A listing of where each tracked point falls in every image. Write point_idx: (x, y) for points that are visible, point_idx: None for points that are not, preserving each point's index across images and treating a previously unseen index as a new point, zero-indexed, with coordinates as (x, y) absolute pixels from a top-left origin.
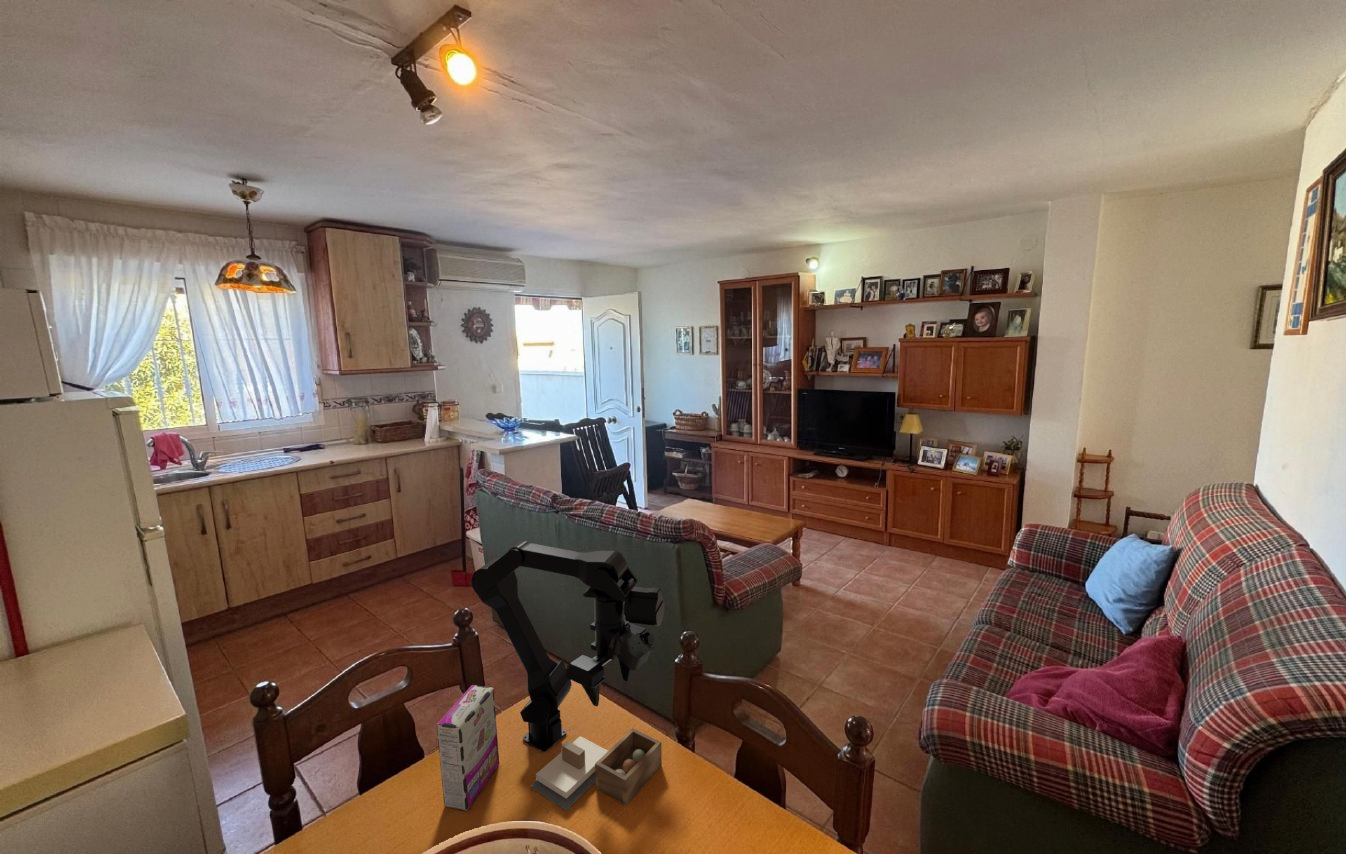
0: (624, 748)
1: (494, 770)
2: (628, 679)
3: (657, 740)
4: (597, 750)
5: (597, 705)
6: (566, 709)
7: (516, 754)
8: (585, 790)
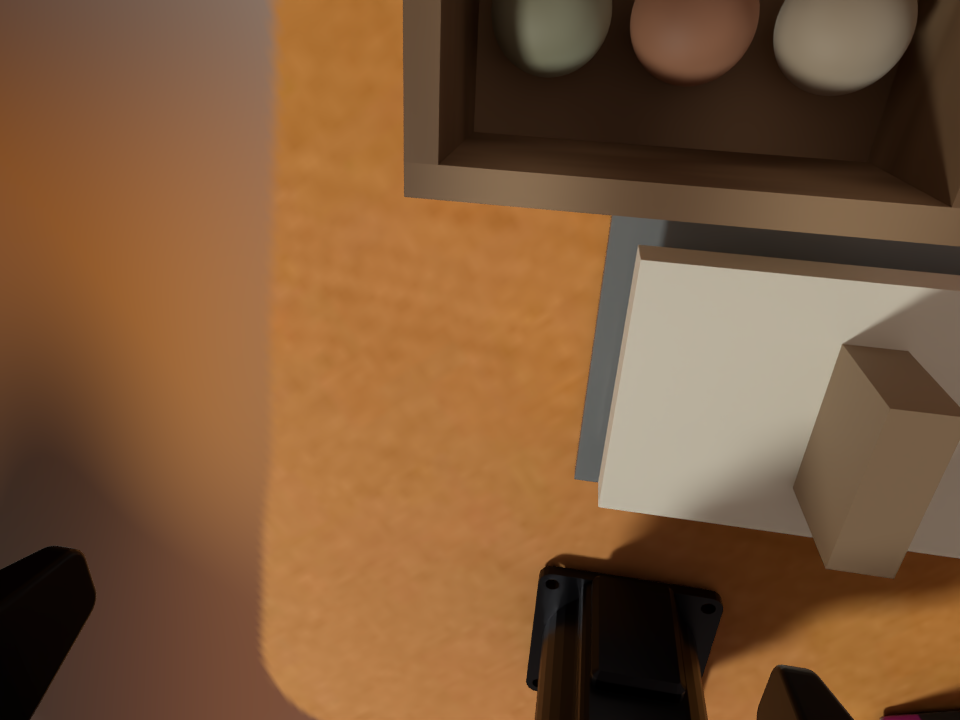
0: (578, 157)
1: (936, 716)
2: (37, 560)
3: None
4: (669, 343)
5: (813, 681)
6: (396, 641)
7: None
8: None
